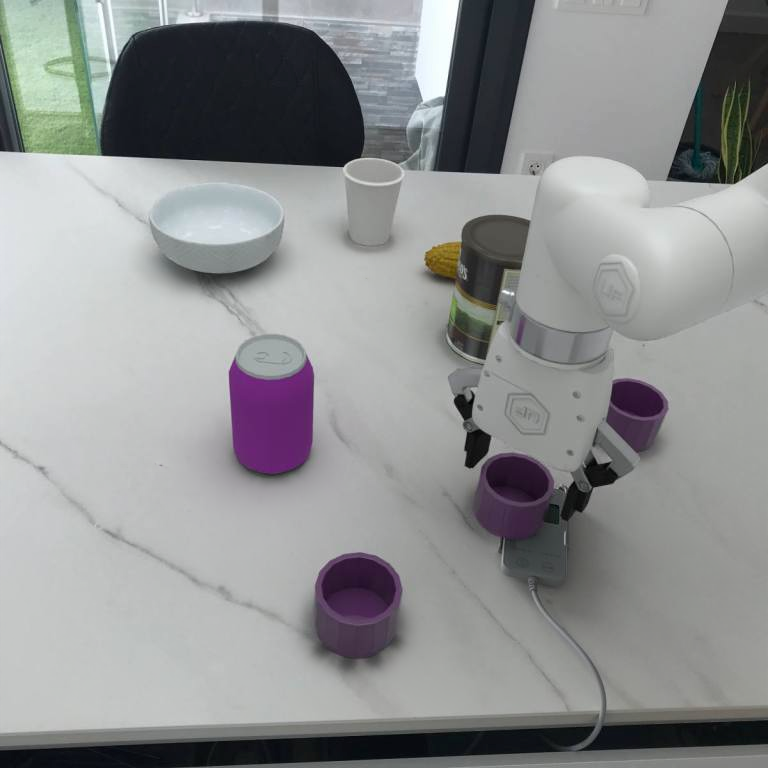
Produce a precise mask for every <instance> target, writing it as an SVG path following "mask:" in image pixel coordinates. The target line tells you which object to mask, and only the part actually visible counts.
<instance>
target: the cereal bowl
mask: <svg viewBox="0 0 768 768" xmlns="http://www.w3.org/2000/svg"><path fill="white" fill-rule="evenodd" d="M148 221H149V222H148V223H149V226H150V227H149V228H150V231H151V235H152V238H153V240H154V242H155V244H156V246H157V248H158V249H159V250H160V252H162V253H163V255H164V256H165V257H166V258H168V259H169V260H171V261H172V262H174V263H175V264H177V265H179V266H180V267H184V268H185V269H189V270H192V271H195V272H200V273H206V274H207V273H208V274H210V273H211V274H230V273H238V272H242V271H245V270H248V269H252V268H253V267H256V266H258V265H260V264H261V263H263V262H265V261H266V260H267V259H268V258H269V257H270V256H272V255H273V253H275V251H276V250H277V248H278V247H279V245H280V243H281V239H282V238H283V233H284V227H285V210H284V208H283V206H282V205H281V203H280V202H279V201H278V200H277V199H276V198H275V197H274V196H272V195H271V194H270V193H267V192H265V191H263V190H261V189H258V188H255V187H252V186H249V185H244V184H239V183H233V182H232V183H231V182H217V181H216V182H215V181H214V182H200V183H193V184H188V185H185V186H180V187H177V188H174V189H172V190H170V191H167V192H166V193H164V194H162V195H161V196H159V197H158V198H156V200H154V202H153V203H152V204H151V206H150V208H149V211H148Z"/></svg>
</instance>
